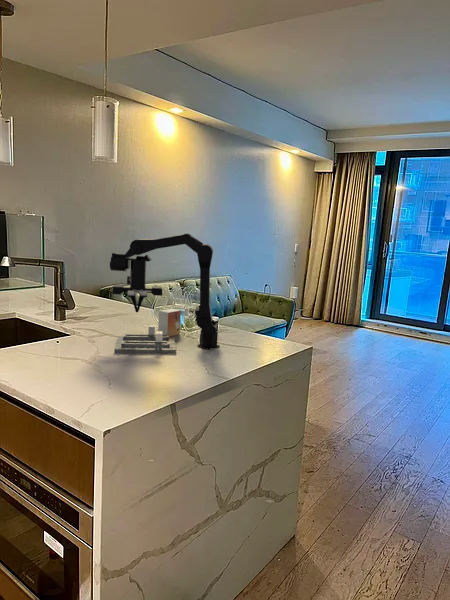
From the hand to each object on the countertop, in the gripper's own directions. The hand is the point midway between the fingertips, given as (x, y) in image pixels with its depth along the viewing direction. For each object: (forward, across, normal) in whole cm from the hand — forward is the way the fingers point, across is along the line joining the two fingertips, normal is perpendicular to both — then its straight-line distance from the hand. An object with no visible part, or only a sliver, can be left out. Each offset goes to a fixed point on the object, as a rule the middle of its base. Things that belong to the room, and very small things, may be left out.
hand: (137, 312), depth 177 cm
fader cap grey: (+10, -6, 0) cm, 12 cm away
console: (+12, -4, +6) cm, 14 cm away
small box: (+12, -13, -12) cm, 22 cm away
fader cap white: (+10, -8, +10) cm, 17 cm away
